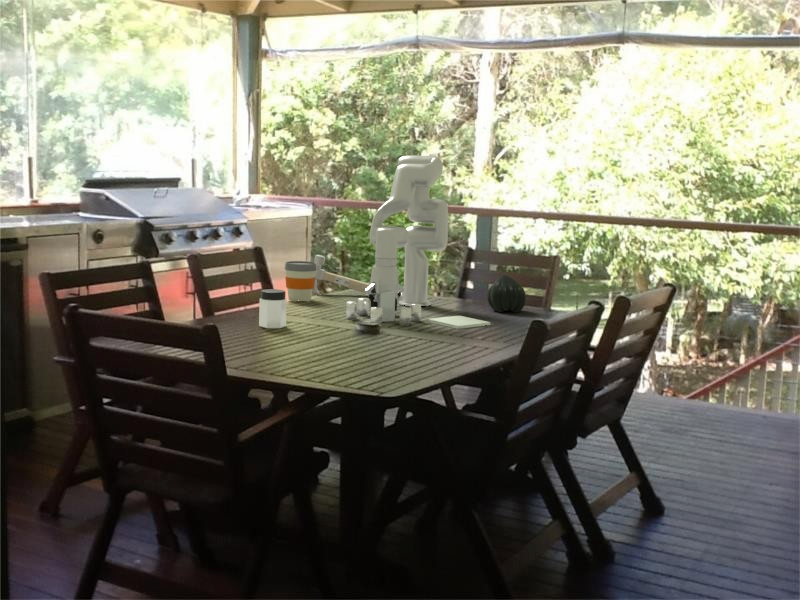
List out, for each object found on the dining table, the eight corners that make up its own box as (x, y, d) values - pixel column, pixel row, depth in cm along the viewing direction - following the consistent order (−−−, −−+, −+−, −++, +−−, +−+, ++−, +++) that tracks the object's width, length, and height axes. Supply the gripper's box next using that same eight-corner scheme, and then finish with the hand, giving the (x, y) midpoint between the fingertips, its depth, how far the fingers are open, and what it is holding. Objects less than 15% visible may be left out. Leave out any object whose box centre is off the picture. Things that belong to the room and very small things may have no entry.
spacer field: (335, 316, 328) (335, 299, 327) (382, 311, 342) (383, 296, 341) (384, 328, 306) (384, 311, 306) (432, 323, 321) (433, 306, 320)
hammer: (384, 273, 382) (316, 254, 383) (383, 274, 377) (314, 255, 379) (375, 308, 384) (307, 289, 386) (373, 310, 380) (305, 290, 381)
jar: (284, 324, 307) (285, 289, 306) (287, 328, 300) (288, 292, 298) (257, 324, 305) (258, 288, 303) (260, 328, 297) (260, 292, 296)
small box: (394, 321, 321) (395, 292, 320) (380, 322, 319) (381, 292, 318) (386, 317, 329) (387, 289, 327) (372, 318, 327) (373, 289, 325)
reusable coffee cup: (295, 303, 354) (296, 265, 352) (278, 298, 363) (278, 261, 361) (321, 301, 362) (322, 263, 360) (304, 296, 371) (305, 260, 369)
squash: (525, 302, 344) (526, 270, 353) (485, 301, 347) (487, 269, 355) (525, 322, 356) (526, 290, 364) (487, 321, 358) (489, 289, 367)
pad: (427, 321, 324) (427, 318, 324) (459, 318, 334) (459, 315, 334) (457, 328, 312) (458, 326, 312) (490, 325, 322) (490, 322, 322)
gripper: (397, 260, 329) (395, 308, 332) (359, 262, 318) (357, 311, 321) (411, 263, 324) (409, 311, 326) (372, 264, 313) (371, 314, 315)
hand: (383, 311), depth 324 cm, fingers open, 8 cm apart
